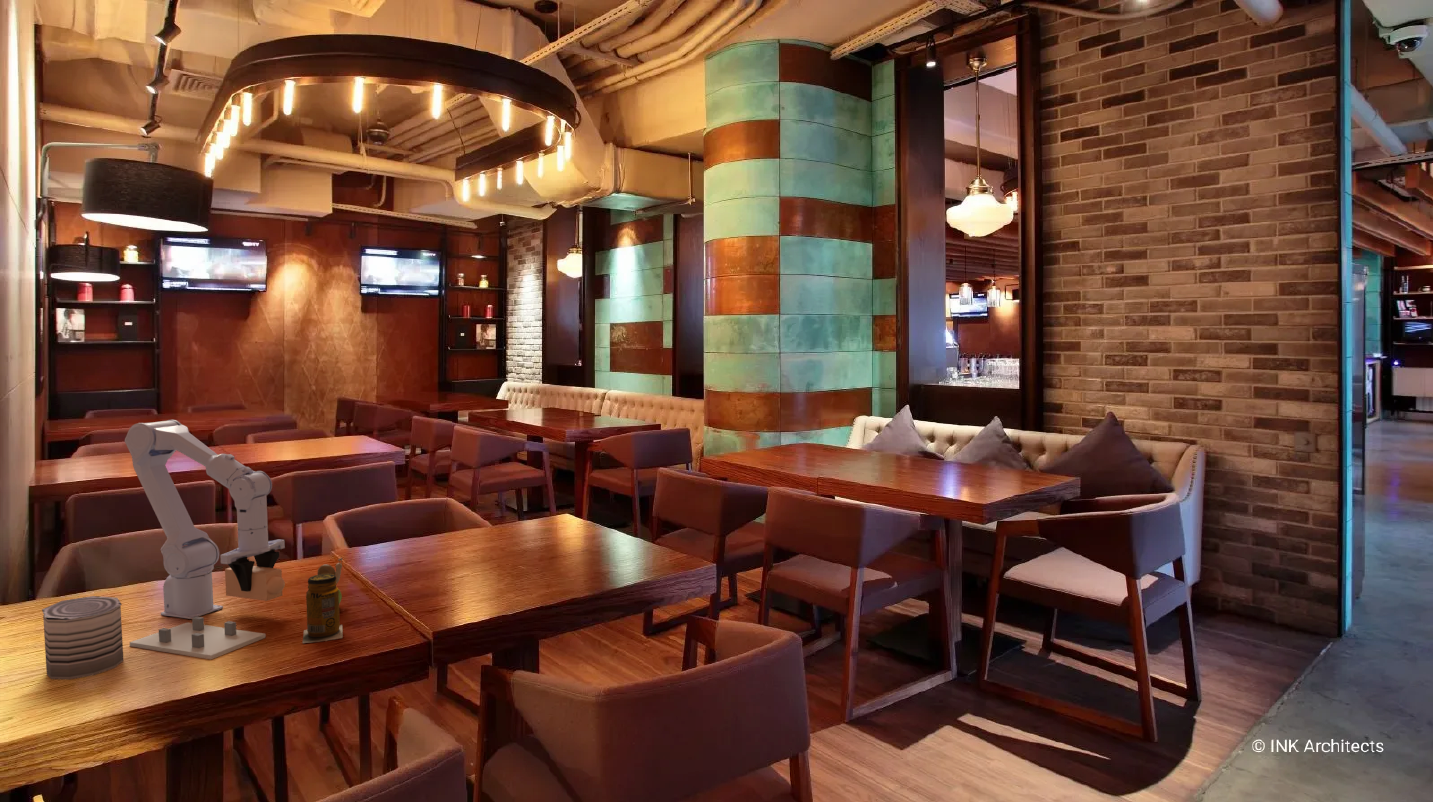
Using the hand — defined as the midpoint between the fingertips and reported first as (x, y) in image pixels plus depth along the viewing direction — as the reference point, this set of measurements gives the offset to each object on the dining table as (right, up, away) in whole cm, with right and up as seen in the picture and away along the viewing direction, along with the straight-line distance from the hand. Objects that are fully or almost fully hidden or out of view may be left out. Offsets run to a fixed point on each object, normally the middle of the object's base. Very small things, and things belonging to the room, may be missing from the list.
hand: (255, 587), depth 174 cm
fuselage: (0, -2, 0) cm, 2 cm away
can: (-15, -8, -28) cm, 33 cm away
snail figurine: (+15, -6, +4) cm, 17 cm away
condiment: (+21, -7, -12) cm, 25 cm away
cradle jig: (-2, -7, -16) cm, 17 cm away
